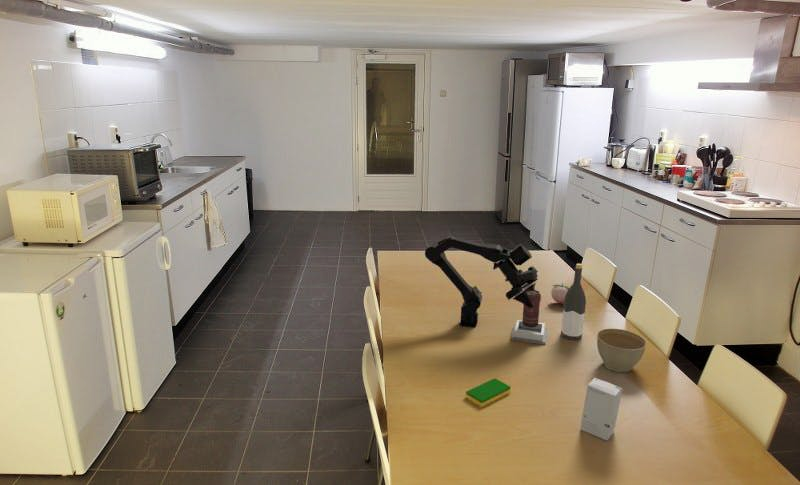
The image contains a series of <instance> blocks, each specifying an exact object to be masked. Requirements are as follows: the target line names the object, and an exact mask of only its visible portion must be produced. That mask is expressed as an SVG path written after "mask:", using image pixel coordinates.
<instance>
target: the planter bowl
mask: <svg viewBox="0 0 800 485" xmlns="http://www.w3.org/2000/svg"><path fill="white" fill-rule="evenodd" d="M647 345H648V344H647V341H646V339H645V338H643V337H642V336H641V335H640V334H637V333H636V332H632V331H630V330H626V329H620V328H603V329H600V330H599V331H598V332H597V334H596V346H597V351H598V354H599V356H600V358H601V360H602V363H603V364H602V365H603V366H604V367H605V368H607V369H608V370H610V371H613V372H617V373H628V372H630V371H632V370H633V368H634V366H636V365H637V364H638V363H639V362H640V361H641V359H642V358H643V355H644V353H645V350H646V347H647Z"/></svg>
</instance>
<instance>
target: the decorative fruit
mask: <svg viewBox="0 0 800 485" xmlns="http://www.w3.org/2000/svg"><path fill="white" fill-rule="evenodd" d="M551 286H552V287H553V288H552V289H551V292H550V293H551V298H552V299H553V301H555V302H556V303H558V304H559V305H562V304H563V305H564V299H565V296H566V293H567V291H568V290H569V288H570V287H571V286H568V285H564V283H562V284H559V283H556V284H552V285H551Z"/></svg>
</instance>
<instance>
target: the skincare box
mask: <svg viewBox="0 0 800 485" xmlns="http://www.w3.org/2000/svg"><path fill="white" fill-rule="evenodd" d="M622 392H623V388H622V387H620V386H617V385H615V384H612V383H611V382H608V381H606V380H602V379H599V378H597V377H594V378H593V379H592V380H590V382H589V383H588V384H587V387H586V393H585V397H584V403H583V410H582V414H581V415H582V416H581V419H580V420H581V422H580V426H579V428H580V431H582V432H585V433H589V434H591V435H593V436H595V437H597V438H600V439H602V440H604V441H608V440H609V439H610V438H611V437H612V435H613V434H614V433H615V428H616V423H617V419H618V418H617V417H618V413H619V409H620V408H619V407H620V404H621V397H622Z"/></svg>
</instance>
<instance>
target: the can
mask: <svg viewBox="0 0 800 485" xmlns="http://www.w3.org/2000/svg"><path fill="white" fill-rule="evenodd" d="M526 295H527V297H528V298H529V300H530V302H531V304H532V305H533V307H532V308H530V307H528V306H526V305H524V304H523V308H522V319H521V320H522V323H523V325H524V326H526V327H529V328H534V327H536V326H537V325H538V323H539V318H540V317H539V316H540V306H541V305H540V304H541V301H542V294H541V293H540V291H538V290H537V289H535V290H527V291H526Z"/></svg>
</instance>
